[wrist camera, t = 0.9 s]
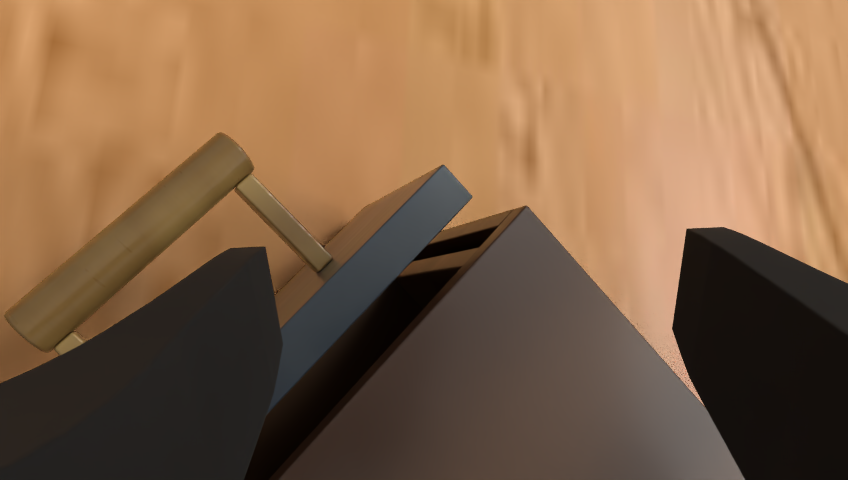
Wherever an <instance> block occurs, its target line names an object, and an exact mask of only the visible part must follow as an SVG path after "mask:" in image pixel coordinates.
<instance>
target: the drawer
mask: <svg viewBox="0 0 848 480" xmlns="http://www.w3.org/2000/svg"><path fill="white" fill-rule="evenodd" d="M253 170H254V166H253V164H252V162H251V160H250V158H249V157H248V156H247V154H246V153H245V152H244V151H243V149H242V148H241V147H240V146H239V145H238V144H237V143H236V142H235V141H234V140H232V139H231V138H230V137H229V136H227V135H225V134H224V133H217V134H216V135H215V136H214V137H212V138H211V139H210V140H209V141H208V142H206V143H205V144H204V145H203V146H202V147H201V148H199V149H198V150H197V151H196V152H195V153H193V154H192V155H191V156H190V157H189V158H188V159H186V160H185V161H184V162H183V163H182V164H180V165H179V166H178V167H177V168H176V169H175V170H173V171H172V172H171V173H170V174H169V175H167V176H166V177H165V178H164V179H163V180H162V181H160V182H159V183H158V184H157V185H156V186H154V187H153V188H152V189H151V190H150V191H148V192H147V193H146V194H145V195H144V196H143V197H141V198H140V199H139V200H138V201H137V202H135V203H134V204H133V205H132V206H131V207H130V208H128V209H127V210H126V211H125V212H124V213H122V214H121V215H120V216H119V217H118V218H117V219H115V220H114V221H113V222H112V223H111V224H109V225H108V226H107V227H106V228H105V229H103V230H102V231H101V232H100V233H99V234H98V235H96V236H95V237H94V238H93V239H92V240H90V241H89V242H88V243H87V244H86V245H85V246H83V247H82V248H81V249H80V250H79V251H77V252H76V253H75V254H74V255H73V256H72V257H70V258H69V259H68V260H67V261H66V262H64V263H63V264H62V265H61V266H60V267H59V268H57V269H56V270H55V271H54V272H53V273H51V274H50V275H49V276H48V277H47V278H45V279H44V280H43V281H42V282H41V283H40V284H38V285H37V286H36V287H35V288H34V289H32V290H31V291H30V292H29V293H28V294H27V295H25V296H24V297H23V298H22V299H21V300H19V301H18V302H17V303H16V304H15V305H14V306H12V307H11V308H10V309H9V310H8V311H6V313H5V315H4V316H5V319H6V320H7V322H8V323H9V324H10V325H11V327H12V328H13V329H14V330H15V331H16V332H17V333H18V334H20V335H21V336H22V337H23V338H24V339H25V340H27V341H28V342H29V343H30V344H32V345H33V346H34V347H36V348H37V349H39V350H41V351H43V352H46V353H48V352H51V351H52V350H53V349H55V351H56V352H57V353H58V354H59V355H62V354H64V353H66V352H68V351H70V350H72V349H74V348H76V347H77V346H79V345H81V344H83V343H85V342H86V340H85V339H84V338H83V337H82V336H81V335H80V334H79V333H78V332H73V331H74V330H75V329H76V328H78V327H79V326H80V325H81V324H82V323H83V322H84V321H85V320H87V319H88V318H89V317H90V316H91V315H92V314H93V313H94V312H96V311H97V310H98V309H99V308H100V307H101V306H102V305H103V304H105V303H106V302H107V301H108V300H109V299H110V298H111V297H112V296H114V295H115V294H116V293H117V292H118V291H119V290H120V289H121V288H123V287H124V286H125V285H126V284H127V283H128V282H129V281H130V280H132V279H133V278H134V277H135V276H136V275H137V274H138V273H139V272H141V271H142V270H143V269H144V268H145V267H146V266H147V265H148V264H150V263H151V262H152V261H153V260H154V259H155V258H156V257H157V256H159V255H160V254H161V253H162V252H163V251H164V250H165V249H166V248H168V247H169V246H170V245H171V244H172V243H173V242H174V241H175V240H177V239H178V238H179V237H180V236H181V235H182V234H183V233H184V232H186V231H187V230H188V229H189V228H190V227H191V226H192V225H193V224H195V223H196V222H197V221H198V220H199V219H200V218H201V217H202V216H204V215H205V214H206V213H207V212H208V211H209V210H210V209H211V208H213V207H214V206H215V205H216V204H217V203H218V202H219V201H220V200H222V199H223V198H224V197H225V196H226V195H227V194H228V193H229V192H231V191H232V190H233V189H234V188H235V187H236V188H235V192H236V193H237V194H238V195H239V196H240V197H241V198H242V199H243V200H244V201H245V202H246V203H247V204H248V205H249V206H250V207H251V208H252V209H253V210H254V211H255V212H256V213H257V214H258V215H259V216H260V217H261V218H262V219H263V220H264V221H265V223H266V224H267V225H268V226H269V227H270V228H271V229H272V230H273V231H274V232H275V233H276V234H277V235H278V236H279V237H280V238H281V239H282V240H283V241H284V242H285V243H286V244H287V245H288V246H289V247H290V248H291V249H292V250H293V251H294V252H295V253H296V254H297V255H298V256H299V257H300V258H301V259H302V260H303V261H304V262H305V263H306V265H305V266H304V267H303V268H302V269H301V270H300V271H299V272H298V273H297V274H296V275H295V276H294V277H293V278H292V279H291V280H290V281H289V282H288V283H287V284H286V285H285V286H284V287H283V288H282V289H281V290H280V291H279V292H278V293H277V294H276V295H275V296H274V297H275V302H276V308H277V313H278V319H279V324H280V329H281V335H282V340H283V347H282V353H281V359H280V364H279V370H278V375H277V380H276V385H275V390H274V394H273V397H272V400H271V403H270V406H269V409H268V412H267V415H266V418H265V421H264V424H263V426H262V429H261V432H260V435H259V438H258V441H257V444H256V447H255V449H254V452H253V455H252V458H251V461H250V464H249V467H248V469H247V472H246V475H245V478H244V480H269V478H270V477H271V476H272V475H273V474H274V473H275V472H276V471H277V470H278V469H279V467H280V466H281V465H282V464H283V463H284V462H285V461H286V460H287V459H288V458H289V456H290V455H291V454H292V453H293V452H294V451H295V450H296V449H297V448H298V447H299V445H300V444H301V443H302V442H303V441H304V440H305V439H306V438H307V437H308V436H309V434H310V433H311V432H312V431H313V430H314V429H315V428H316V427H317V426H318V425H319V423H320V422H321V421H322V420H323V419H324V418H325V417H326V416H327V415H328V414H329V412H330V411H331V410H332V409H333V408H334V407H335V406H336V405H337V404H338V403H339V401H340V400H341V399H342V398H343V397H344V396H345V395H346V394H347V393H348V392H349V390H350V389H351V388H352V387H353V386H354V385H355V384H356V383H357V382H358V381H359V379H360V378H361V377H362V376H363V375H364V374H365V373H366V372H367V371H368V369H369V368H370V367H371V366H372V365H373V364H374V363H375V362H376V361H377V360H378V358H379V357H380V356H381V355H382V354H383V353H384V352H385V351H386V350H387V349H388V347H389V346H390V345H391V344H392V343H393V342H394V341H395V340H396V339H397V338H398V336H399V335H400V334H401V333H402V332H403V331H404V330H405V329H406V328H407V327H408V325H409V324H410V323H411V322H412V321H413V320H414V319H415V318H416V317H417V316H418V314H419V313H420V312H421V311H422V310H423V309H424V308H425V307H426V306H427V305H428V303H429V302H430V301H431V300H432V299H433V298H434V297H435V296H436V295H437V294H438V292H439V291H440V290H441V289H442V288H443V287H444V286H445V285H446V284H447V283H448V281H449V280H450V279H451V278H452V277H453V276H454V275H455V274H456V273H457V272H458V270H459V269H460V268H461V267H462V266H463V265H464V264H465V263H466V262H467V261H468V259H469V258H470V257H471V256H472V255H473V254H474V253H475V252H476V251H477V250H478V248H475V249H470V250H465V251H460V252H456V253H451V254H446V255H441V256H437V257H432V258H427V259H422V260H418V261H413V260H414V259H415V258H416V257H417V256H418V254H419V253H420V252H421V251H422V250H423V249H424V248H425V247H426V246H427V245H428V244H429V243H430V242H431V241H432V240H433V239H434V238H435V236H436V235H437V234H438V233H439V232H440V231H441V230H442V229H443V228H444V227H445V226H446V225H447V224H448V223H449V222H450V221H451V220H452V219H453V217H454V216H455V215H456V214H457V213H458V212H459V211H460V210H461V209H462V208H463V207H464V206H465V205H466V204H467V203H468V202H469V201H470V199H471V198H472V195H471V194H470V193H469V192H468V191H467V190H466V189H465V188H464V187H463V185H462V184H461V183H460V182H459V181H458V180H457V179H456V178H455V177H454V175H453V174H452V173H451V172H450V171H449V170H448V169H447V168H446V167H445V165H441V166H439V167H437V168H436V169H434V170H432V171H430V172H428V173H426V174H425V175H423V176H421V177H419V178H417V179H415V180H413V181H412V182H410V183H408V184H406V185H404V186H402V187H401V188H399V189H397V190H395V191H393V192H391V193H390V194H388V195H386V196H384V197H382V198H380V199H379V200H377V201H375V202H373V203H371V204H369V205H367V206H366V207H364V208H363V209H362V210H361V211H360V212H359V213H358V214H357V215H356V216H355V217H354V218H353V219H352V220H351V221H350V222H349V223H348V224H347V225H346V226H345V227H344V228H343V229H342V230H341V231H340V232H339V233H338V234H337V235H336V236H335V237H334V238H333V239H332V240H331V241H330V242H329V243H328V244H327V245H325V246H324V247H323V246H322V245H321V244H320V243H319V242H318V241H317V240H316V239H315V238H314V237H313V236H312V235H311V234H310V233H309V232H308V231H307V230H306V229H305V228H304V227H303V226H302V225H301V224H300V223H299V222H298V221H297V220H296V219H295V218H294V217H293V216H292V215H291V213H290V212H289V211H288V210H287V209H286V208H285V207H284V206H283V205H282V204H281V203H280V202H279V201H278V200H277V199H276V198H275V197H274V196H273V195H272V194H271V193H270V192H269V191H268V190H267V189H266V188H265V187H264V186H263V185H262V184H261V183H260V182H259V181H258V179H257V178H256V177H255V176H254V175H253V174H251V173H252V172H253ZM412 261H413V262H412Z"/></svg>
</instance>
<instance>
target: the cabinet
mask: <svg viewBox="0 0 848 480" xmlns="http://www.w3.org/2000/svg"><path fill="white" fill-rule="evenodd" d="M475 248H478V250H477V251H476V252H475V253H474V254H473V255H472V256H471V257H470V258H469V259H468V261H467V262H466V263H465V264H464V265H463V266H462V267H461V268H460V269H459V270H458V272H457V273H456V274H455V275H454V276H453V277H452V278H451V279H450V280H449V281H448V283H447V284H446V285H445V286H444V287H443V288H442V289H441V290H440V291H439V292H438V294H437V295H436V296H435V297H434V298H433V299H432V300H431V301H430V302H429V303H428V305H427V306H426V307H425V308H424V309H423V310H422V311H421V312H420V313H419V314H418V316H417V317H416V318H415V319H414V320H413V321H412V322H411V323H410V324H409V325H408V327H407V328H406V329H405V330H404V331H403V332H402V333H401V334H400V335H399V336H398V338H397V339H396V340H395V341H394V342H393V343H392V344H391V345H390V346H389V347H388V349H387V350H386V351H385V352H384V353H383V354H382V355H381V356H380V357H379V358H378V360H377V361H376V362H375V363H374V364H373V365H372V366H371V367H370V368H369V369H368V371H367V372H366V373H365V374H364V375H363V376H362V377H361V378H360V379H359V381H358V382H357V383H356V384H355V385H354V386H353V387H352V388H351V389H350V390H349V392H348V393H347V394H346V395H345V396H344V397H343V398H342V399H341V400H340V401H339V403H338V404H337V405H336V406H335V407H334V408H333V409H332V410H331V411H330V412H329V414H328V415H327V416H326V417H325V418H324V419H323V420H322V421H321V422H320V423H319V425H318V426H317V427H316V428H315V429H314V430H313V431H312V432H311V433H310V434H309V436H308V437H307V438H306V439H305V440H304V441H303V442H302V443H301V444H300V445H299V447H298V448H297V449H296V450H295V451H294V452H293V453H292V454H291V455H290V456H289V458H288V459H287V460H286V461H285V462H284V463H283V464H282V465H281V466H280V467H279V469H278V470H277V471H276V472H275V473H274V474H273V475H272V476H271V477H270V478H269V480H745V479H744V477H743V475H742V473H741V471H740V470H739V468H738V466H737V464H736V462H735V460H734V459H733V457H732V455H731V453H730V451H729V449H728V448H727V446H726V444H725V442H724V440H723V439H722V437H721V435H720V433H719V431H718V429H717V428H716V426H715V424H714V422H713V420H712V418H711V417H710V415H709V413H708V411H707V409H706V408H705V407H704V406H703V404H702V403H701V402H700V401H699V400H698V399H697V398H696V397H695V395H694V394H693V393H692V392H691V391H690V390H689V389H688V388H687V386H686V385H685V384H684V383H683V382H682V381H681V380H680V378H679V377H678V376H677V375H676V374H675V373H674V372H673V371H672V369H671V368H670V367H669V366H668V365H667V364H666V363H665V361H664V360H663V359H662V358H661V357H660V356H659V355H658V354H657V352H656V351H655V350H654V349H653V348H652V347H651V346H650V344H649V343H648V342H647V341H646V340H645V339H644V338H643V337H642V335H641V334H640V333H639V332H638V331H637V330H636V329H635V327H634V326H633V325H632V324H631V323H630V322H629V321H628V320H627V318H626V317H625V316H624V315H623V314H622V313H621V312H620V310H619V309H618V308H617V307H616V306H615V305H614V304H613V303H612V301H611V300H610V299H609V298H608V297H607V296H606V295H605V293H604V292H603V291H602V290H601V289H600V288H599V287H598V286H597V284H596V283H595V282H594V281H593V280H592V279H591V278H590V276H589V275H588V274H587V273H586V272H585V271H584V270H583V269H582V267H581V266H580V265H579V264H578V263H577V262H576V261H575V259H574V258H573V257H572V256H571V255H570V254H569V253H568V252H567V250H566V249H565V248H564V247H563V246H562V245H561V244H560V242H559V241H558V240H557V239H556V238H555V237H554V236H553V235H552V233H551V232H550V231H549V230H548V229H547V228H546V227H545V225H544V224H543V223H542V222H541V221H540V220H539V219H538V218H537V216H536V215H535V214H534V213H533V212H532V211H531V210H530V208H529V207H528V206H523V207H520V208H516V209H513V210H509V211H506V212H503V213H499V214H496V215H493V216H489V217H486V218H483V219H479V220H476V221H473V222H470V223H466V224H463V225H460V226H456V227H453V228H450V229H446V230H443V231H440V232H439V233H438V234H437V235H436V236H435V238H434V239H433V240H432V241H431V242H430V243H429V244H428V245H427V246H426V247H425V248H424V249H423V250H422V251H421V252H420V253H419V254H418V256H417V257H416V258H415V259H414V260H413V261H418V260H422V259H427V258H432V257H437V256H441V255H446V254H451V253H456V252H460V251H465V250H470V249H475ZM413 261H412V262H413Z"/></svg>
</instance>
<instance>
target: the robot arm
mask: <svg viewBox="0 0 848 480" xmlns="http://www.w3.org/2000/svg"><path fill="white" fill-rule="evenodd" d="M672 330H673V333H674V335H675V338H676V341H677V344H678V347H679V350H680V353H681V356H682V359H683V361H684V364H685V366H686V369H687V372H688V374H689V377H690V379H691V381H692V383H693V385H694V387H695V389H696V391H697V392H698V394H699V396H700V398H701V400H702V402H703V404H704V405H705V407H706V409H707V411H708V413H709V415H710V417H711V418H712V420H713V422H714V424H715V426H716V428H717V429H718V431H719V433H720V435H721V437H722V439H723V440H724V442H725V444H726V446H727V448H728V449H729V451H730V453H731V455H732V457H733V459H734V460H735V462H736V464H737V466H738V468H739V470H740V471H741V473H742V475H743V477H744V479H745V480H848V283H845V282H843V281H841V280H839V279H837V278H834V277H832V276H830V275H828V274H826V273H824V272H822V271H819V270H817V269H815V268H813V267H811V266H809V265H807V264H805V263H803V262H801V261H798V260H796V259H794V258H792V257H790V256H788V255H786V254H784V253H782V252H780V251H778V250H776V249H774V248H772V247H769V246H767V245H765V244H763V243H761V242H759V241H757V240H754V239H752V238H750V237H748V236H746V235H743V234H741V233H738V232H736V231H733V230H730V229H727V228H724V227H717V228H693V229H687V230H686V237H685V244H684V251H683V258H682V265H681V272H680V279H679V286H678V292H677V299H676V306H675V313H674V320H673V327H672ZM282 347H283V340H282V335H281V329H280V324H279V319H278V313H277V308H276V302H275V297H274V291H273V286H272V280H271V275H270V269H269V264H268V259H267V253H266V248H265V247H248V248H230V249H228V250H226V251H224V252H223V253H221V254H219V255H218V256H216V257H215V258H213V259H212V260H210V261H209V262H207V263H206V264H204V265H203V266H201V267H200V268H199V269H197V270H196V271H194V272H193V273H191V274H190V275H189V276H187V277H186V278H184V279H183V280H181V281H180V282H179V283H177V284H176V285H174V286H173V287H171V288H170V289H169V290H167V291H166V292H164V293H163V294H161V295H160V296H158V297H157V298H156V299H154V300H153V301H151V302H150V303H148V304H146V305H145V306H143V307H142V308H140V309H139V310H137V311H135V312H134V313H132V314H131V315H129V316H128V317H126V318H124V319H123V320H121V321H120V322H118V323H117V324H115V325H113V326H112V327H110V328H109V329H107V330H106V331H104V332H102V333H100V334H99V335H97V336H95V337H94V338H92V339H90V340H88V341H86V342H85V343H83V344H81V345H79V346H77V347H76V348H74V349H72V350H70V351H68V352H66V353H64V354H62V355H60V356H58V357H56V358H54V359H52V360H50V361H49V362H47V363H45V364H42V365H40V366H38V367H36V368H34V369H32V370H30V371H28V372H25V373H23V374H21V375H18V376H16V377H14V378H12V379H9V380H7V381H5V382H2V383H0V480H244V478H245V475H246V472H247V469H248V467H249V464H250V461H251V458H252V455H253V452H254V449H255V447H256V444H257V441H258V438H259V435H260V432H261V429H262V426H263V424H264V421H265V418H266V415H267V412H268V409H269V406H270V403H271V400H272V397H273V394H274V390H275V385H276V380H277V375H278V370H279V364H280V359H281V353H282Z"/></svg>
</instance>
